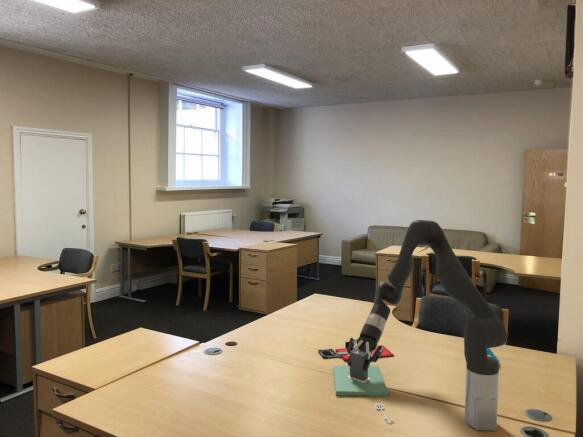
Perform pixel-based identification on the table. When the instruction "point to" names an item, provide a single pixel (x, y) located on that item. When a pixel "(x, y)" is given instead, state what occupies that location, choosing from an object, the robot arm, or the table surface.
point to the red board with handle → (345, 354)
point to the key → (382, 410)
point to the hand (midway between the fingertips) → (356, 367)
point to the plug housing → (358, 365)
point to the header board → (359, 382)
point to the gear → (491, 354)
